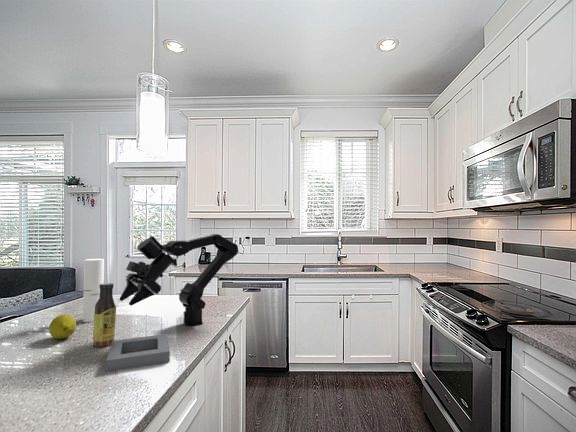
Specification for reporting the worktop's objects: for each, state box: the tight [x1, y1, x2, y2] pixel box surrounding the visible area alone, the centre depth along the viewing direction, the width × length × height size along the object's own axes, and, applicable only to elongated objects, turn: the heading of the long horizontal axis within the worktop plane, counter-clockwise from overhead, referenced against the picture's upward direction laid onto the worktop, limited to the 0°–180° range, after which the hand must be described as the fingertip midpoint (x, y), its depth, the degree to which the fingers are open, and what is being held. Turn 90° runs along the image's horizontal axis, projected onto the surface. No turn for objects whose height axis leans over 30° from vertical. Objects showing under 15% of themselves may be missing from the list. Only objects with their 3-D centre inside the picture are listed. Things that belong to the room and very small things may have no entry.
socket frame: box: [105, 333, 171, 373], centre depth 95 cm, size 16×16×3 cm
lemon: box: [48, 314, 77, 340], centre depth 110 cm, size 11×8×8 cm
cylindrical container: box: [82, 258, 105, 323], centre depth 132 cm, size 7×7×25 cm
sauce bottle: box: [92, 282, 117, 348], centre depth 105 cm, size 6×6×20 cm
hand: (124, 302), depth 109 cm, fingers open, 9 cm apart
